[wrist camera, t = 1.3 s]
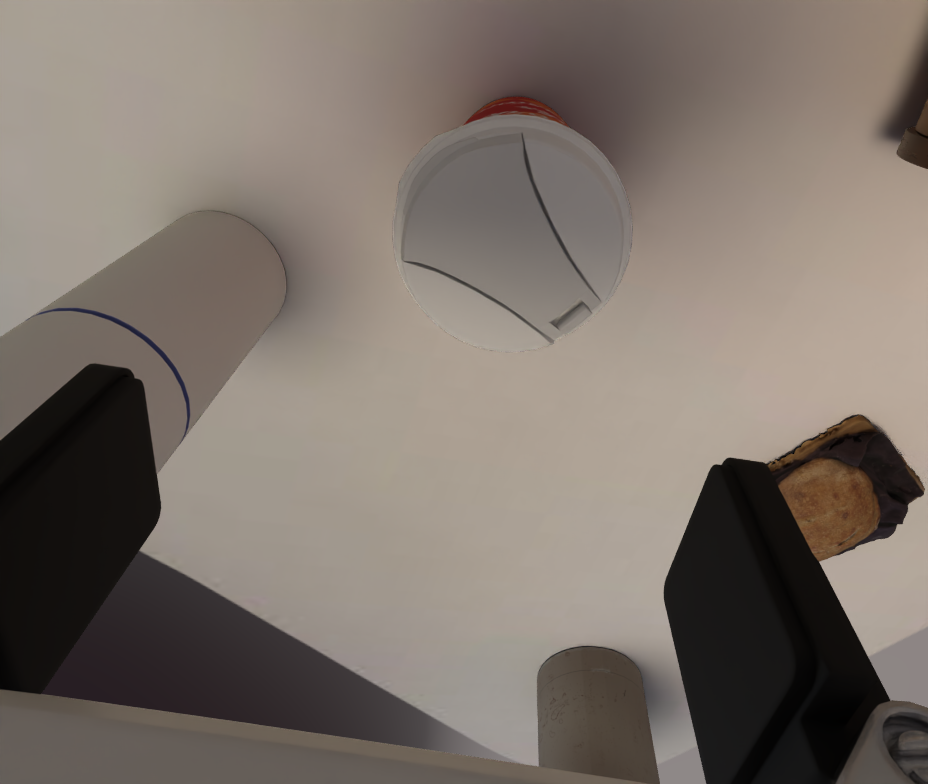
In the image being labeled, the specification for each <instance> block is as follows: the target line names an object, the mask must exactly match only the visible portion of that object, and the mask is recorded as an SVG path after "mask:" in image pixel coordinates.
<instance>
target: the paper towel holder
mask: <svg viewBox="0 0 928 784" xmlns="http://www.w3.org/2000/svg"><path fill="white" fill-rule="evenodd" d="M897 155H898V156H899V157H900V158H902V159H903V160H905V161H907V162H910V163H912V164H915V165H917V166H920V167H923V168H926V169H928V98H927V101H926V103H925V105H924V108H923V110H922V113H921V115H920V117H919V120H918V122H917V125H916V127H909V128H907V129H906V131H905V133H904V135H903V138H902V140H901V143H900V145H899V147H898V150H897Z"/></svg>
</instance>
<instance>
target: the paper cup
mask: <svg viewBox="0 0 928 784" xmlns="http://www.w3.org/2000/svg"><path fill="white" fill-rule="evenodd" d="M632 231H633V225H632V216H631V208H630V204H629V201H628V197H627V194H626V190H625V188H624V186H623V184H622V182H621V180H620V178H619V176H618V174H617V172H616V170H615V169H614V167H613V166H612V165H611V163H610V162H609V160H608V159H607V158H606V156H605V155H604V154H603V153H602V152H601V151H600V150H599V149H598V148H597V147H596V146H595V145H594V144H593V143H592V142H591V141H589V140H588V139H586V138H585V137H584V136H582V135H581V134H579V133H578V132H576V131H575V130H573V129H571V128H570V127H569V126H568V125H567V124H566V123H565V121H564V120H563V119H562V118H561V117H560V116H559V115H558V114H557V113H556V112H555V111H554V110H552V109H551V108H550V107H548V106H547V105H545V104H543V103H541V102H539V101H537V100H534V99H531V98H526V97H507V98H502V99H499V100H496V101H493V102H491V103H489V104H487V105H486V106H484V107H483V108H481V109H480V110H478V111H477V112H476V113H475V114H474V115H473V116H472V117H471V118H470V119H469V120H468V121H467V122H466V123H465V124H464V125H463V126H461V127H458V128H456V129H453V130H451V131H448V132H445V133H443V134H440V135H437V136H435V137H434V138H433V139H432V140H431V141H430V142H429V143H427V144H426V145H425V146H424V147H423V148H422V149H421V150H420V151H419V153H418V154H417V155H416V156H415V158H414V159H413V160H412V161H411V163H410V164H409V165H408V167H407V169H406V171H405V173H404V174H403V176H402V178H401V180H400V182H399V187H398V194H397V201H396V207H395V212H394V218H393V235H392V240H393V248H394V255H395V260H396V263H397V266H398V270H399V273H400V276H401V278H402V280H403V282H404V284H405V286H406V288H407V290H408V292H409V293H410V295H411V296H412V297H413V299H414V300H415V302H416V303H417V305H418V306H419V307H420V308H421V309H422V310H423V311H424V312H425V314H426V315H427V316H428V317H429V318H430V319H431V320H432V321H433V322H434V323H435V324H436V325H438V326H439V327H440V328H441V329H443V330H444V331H445V332H446V333H448V334H450V335H451V336H453V337H455V338H456V339H458V340H460V341H462V342H465V343H467V344H469V345H472V346H474V347H478V348H482V349H486V350H490V351H498V352H524V351H530V350H535V349H540V348H543V347H546V346H549V345H552V344H554V341H556V340H558V339H560V338H562V337H564V336H566V335H568V334H570V333H572V332H574V331H576V330H577V329H579V328H580V327H582V326H583V325H584V324H586V323H587V322H589V321H590V320H591V319H592V318H593V317H594V316H595V315H596V314H597V313H598V312H599V311H600V310H601V309H602V308H603V307H604V306H605V304H606V303H607V302H608V301H609V299H610V298H611V297H612V296H613V294H614V292H615V290H616V289H617V287H618V285H619V283H620V282H621V280H622V277H623V275H624V272H625V269H626V267H627V264H628V261H629V256H630V251H631V246H632Z"/></svg>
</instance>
